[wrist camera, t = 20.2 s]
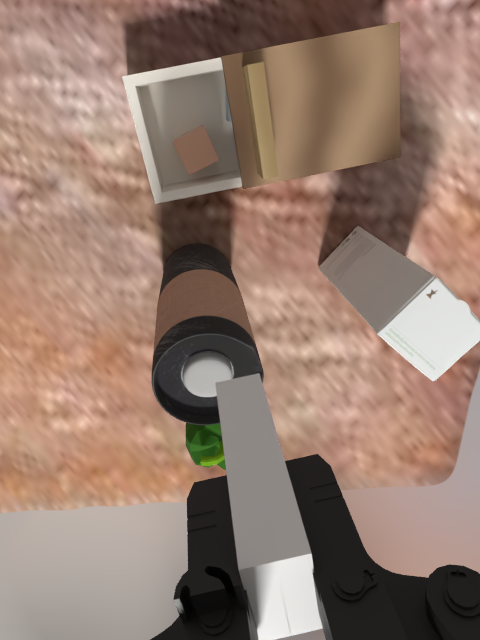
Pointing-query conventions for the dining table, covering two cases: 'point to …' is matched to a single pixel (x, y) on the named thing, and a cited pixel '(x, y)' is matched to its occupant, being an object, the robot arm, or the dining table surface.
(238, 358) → the travel mug
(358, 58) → the lid
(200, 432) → the bell pepper
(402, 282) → the skincare box
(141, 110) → the keepsake box
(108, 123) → the dining table surface
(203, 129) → the cube terracotta
